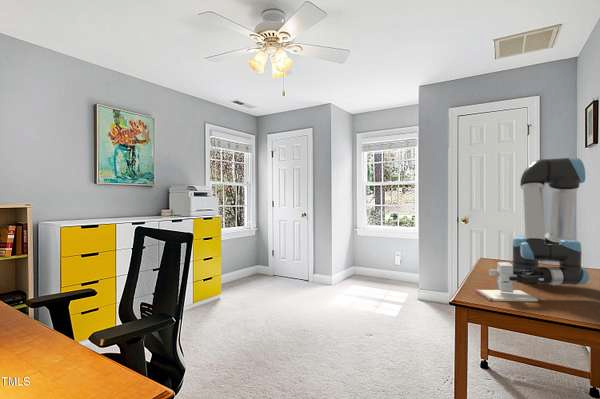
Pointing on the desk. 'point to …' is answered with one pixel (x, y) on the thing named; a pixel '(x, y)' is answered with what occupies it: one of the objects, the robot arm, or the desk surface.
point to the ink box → (505, 269)
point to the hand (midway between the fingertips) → (494, 275)
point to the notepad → (506, 295)
